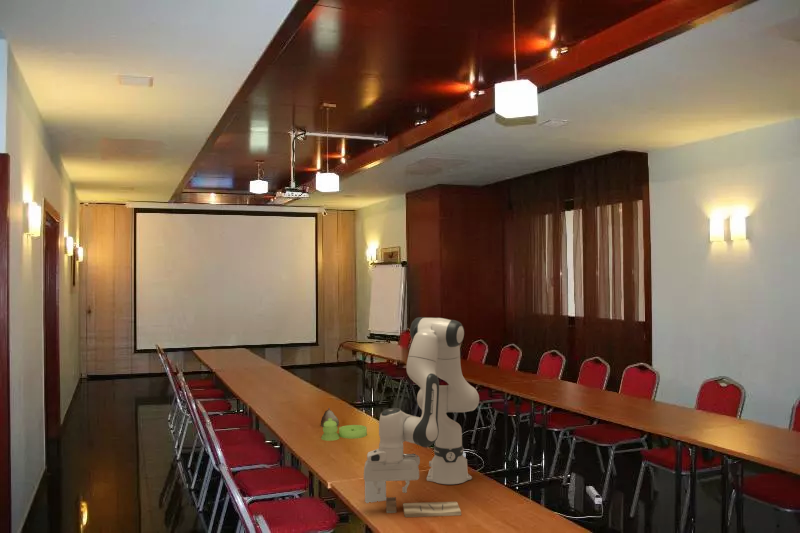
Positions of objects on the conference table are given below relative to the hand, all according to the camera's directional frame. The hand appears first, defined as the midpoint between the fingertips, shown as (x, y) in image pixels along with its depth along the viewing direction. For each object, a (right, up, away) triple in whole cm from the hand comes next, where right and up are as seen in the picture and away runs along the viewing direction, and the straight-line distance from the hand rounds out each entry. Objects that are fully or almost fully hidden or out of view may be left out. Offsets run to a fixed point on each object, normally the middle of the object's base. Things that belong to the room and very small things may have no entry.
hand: (391, 492), depth 239 cm
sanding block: (0, -7, +1) cm, 7 cm away
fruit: (-36, -10, +130) cm, 135 cm away
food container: (-26, -10, +107) cm, 110 cm away
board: (+14, -6, 0) cm, 16 cm away
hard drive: (-6, -7, +10) cm, 14 cm away
